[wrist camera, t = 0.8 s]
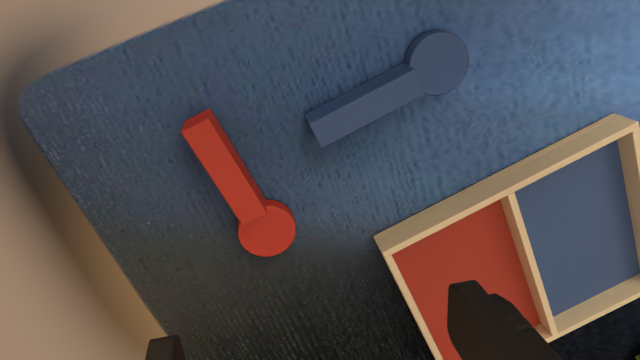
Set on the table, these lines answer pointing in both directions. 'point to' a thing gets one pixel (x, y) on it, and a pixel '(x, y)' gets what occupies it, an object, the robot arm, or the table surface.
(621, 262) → the sorting tray
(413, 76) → the blue spoon
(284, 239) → the red spoon
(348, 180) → the table surface
